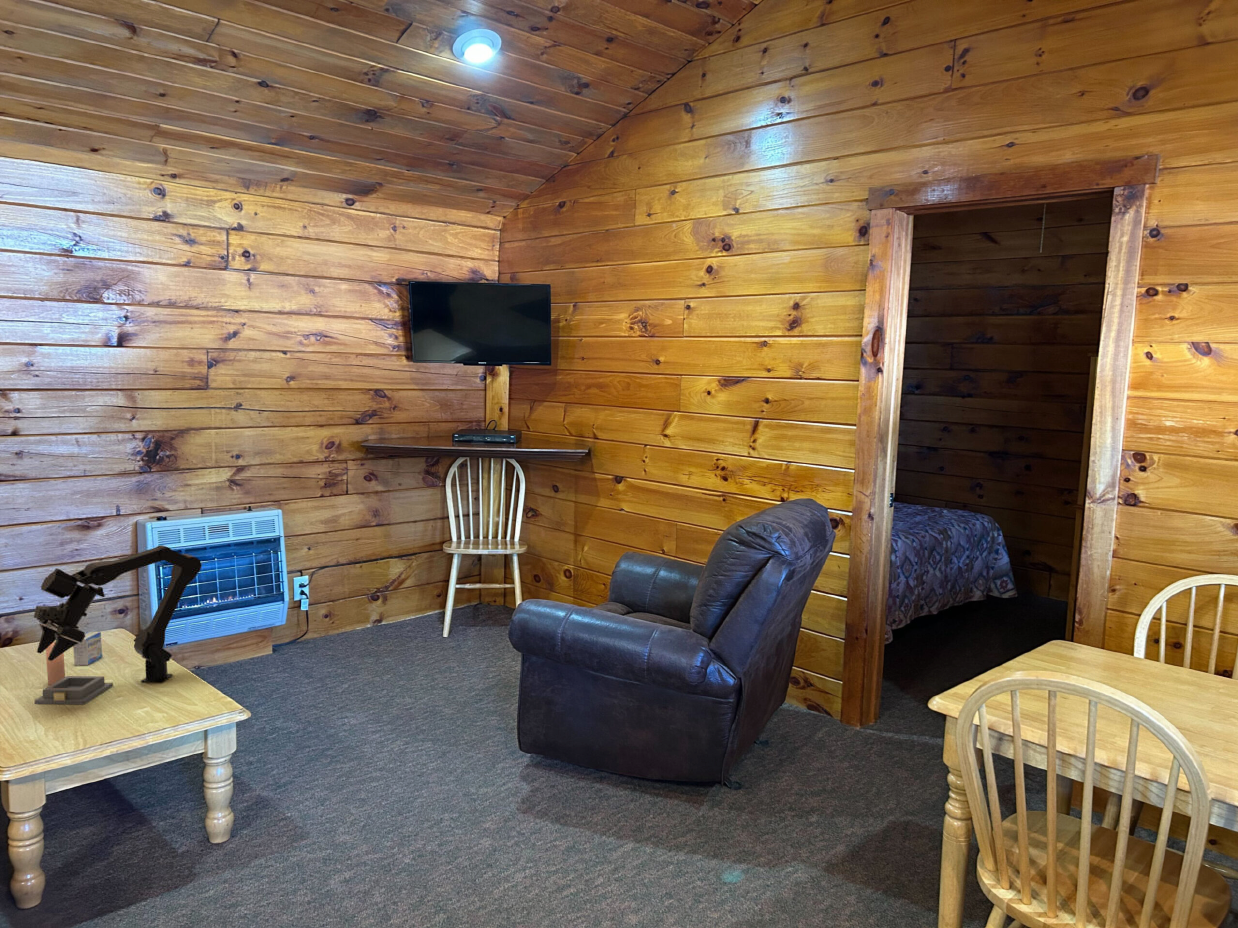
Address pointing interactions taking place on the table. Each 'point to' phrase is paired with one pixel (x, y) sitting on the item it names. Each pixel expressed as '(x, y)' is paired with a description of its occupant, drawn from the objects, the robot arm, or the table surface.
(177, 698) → the table surface
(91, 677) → the gray square tray
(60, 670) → the terracotta peg
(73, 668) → the table surface
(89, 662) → the medicine box
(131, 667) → the table surface
